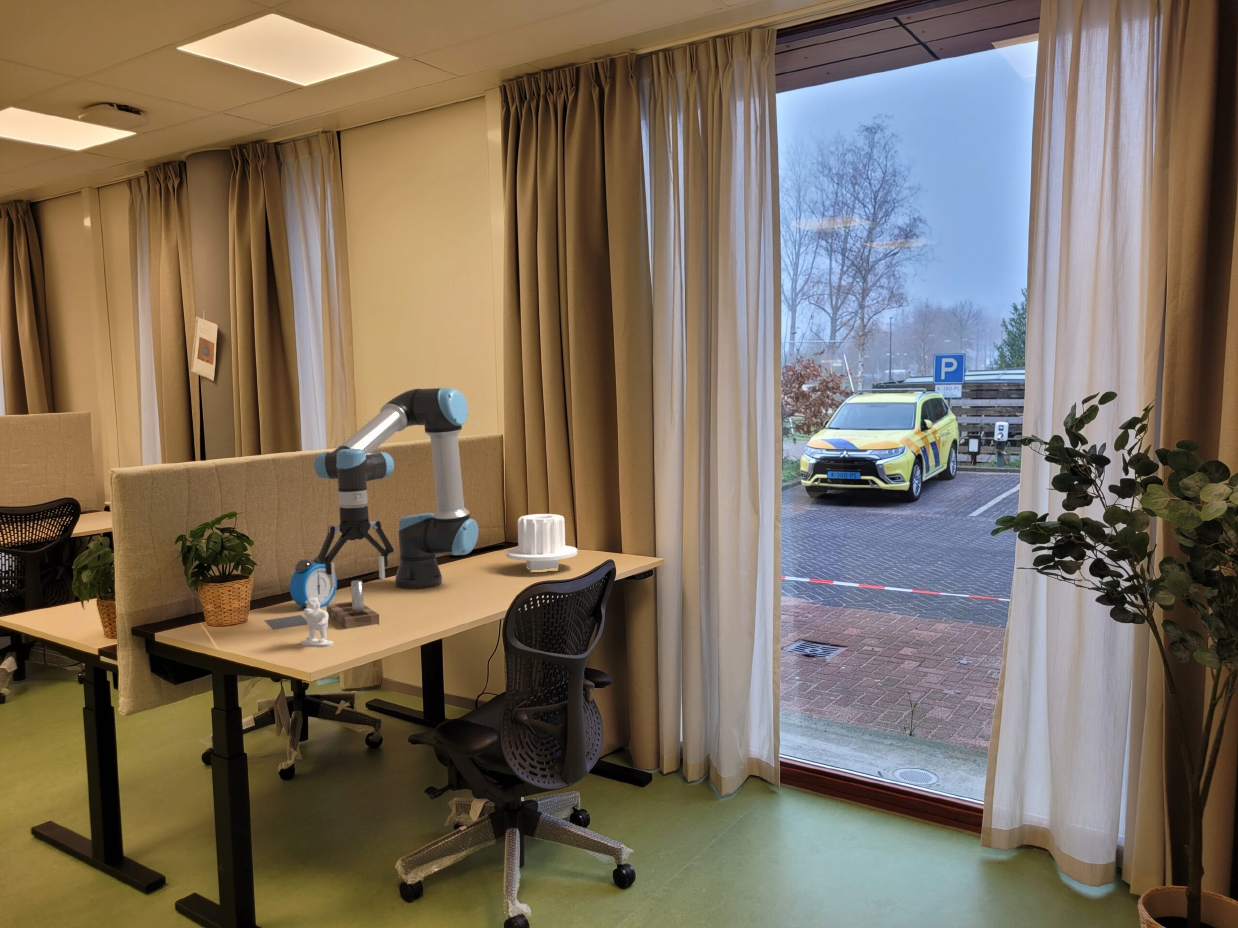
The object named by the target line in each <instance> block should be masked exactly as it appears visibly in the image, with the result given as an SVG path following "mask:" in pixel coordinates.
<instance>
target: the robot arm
mask: <svg viewBox="0 0 1238 928" xmlns="http://www.w3.org/2000/svg"><path fill="white" fill-rule="evenodd" d="M468 414H469V408H468V403H467V400H466V398H465V396H464V394H462V392H461V391H459V390H457V389H456V388H450V387H449V388H448V387H447V388H446V387H438V388H434V387H433V388H413V389H410V390H406V391H405V392H402V393H400V394H399V395H397V396H395V397H393V398H392V399H390V400H389V401H388V402H386V403H385V404H384V405H383V406H382V407H381V408H380V410H379V413H378V414H377V415H376V416H374V417H373V418H371V420H369V421H368V422H367V423H366V424H365V425H364V426H362V427H361V428H360V429H358V430H357V431H356V432H355V433H354V434H352V436H350V437H349V438H348V439H346V440H345V441H344V442H343V443H342V444H341V445H339V446H338V447H337V448H336V449H334V450H333V451H331V452H329V451H326V452H321V453H318V455H317V456H316V458H315V460H314V463H313V467H314V470H315V474H316V475H317V476H318V477H319V478H321V479H329V480H337V485H338V488H337V489H338V490H337V491H338V493H337V494H338V505H339V506H340V507H339V509H338V510H339V511H338V512H339V525H335V526H334V525H329V526H328V527H327V534H326V537H325V540H324V542H323V544H322V546H321V549H320V551H319V552H318V553H319V554H318V560H319V561H321V562H325V570H326V574H327V575H330V585H331V586H332V587H336V585H335V574H336V571H335V570H336V569H335V562H333V560H334V559H335V558H336V556H337V554H338V553H339V552H340V550H341V549H342V547H344V544H346V543H347V541H351V542H352V541H356V540H359V541H361V540H363V539H366V540H367V541H368V542H369V543H370V544H371V546H372V547H374V549H376V550H377V551H378V552H379V553H380V554H378V555H377V556H378V557H377V559H378V572H379V573H378V577H379V578H378V579H380V580H382V581H384V580H386V572H385V569H386V567H388V566H389V565H388V564H389V563H388V556H389V554H392V553H394V551H395V549H394V547H393V546H392V544H391V542H390V541H389V538H388V537H387V535H386V534H385V533H384V530H383V528H382V524H381V521H379V520H377V519H375V520H373V521H370V519H369V517H370V516H369V507H368V505H367V504H368V503H369V502H368V486H367V482H370V481H377V480H382V479H385V478H387V477H388V478H389V476H391V475H392V473H393V471H394V469H395V462H394V459H393V457H392V455H390V454H389V453H388V452H385V451H376V449H378V448H379V447H380V446H381V445H382V444H384V443H385V442H386V441H387V440H389V438H391V437H392V436H393V435H394V434H395V433H396V432H401V431H404V430H405V429H406V428H408V427H412V426H424V433H425V434H426V435H427V436H428V437H429V438H430V446H431V456H432V457H431V458H432V467H433V468H432V469H433V477H434V478H433V479H434V487H435V488H434V489H435V499H436V509H437V510H436V511H435V512H434V513H433V512H425V513H418V514H412V515H407V516H403V517H401V518H400V519H399V521H398V530H397V532H398V543H399V544H398V547H399V564H398V567H397V571H396V575H395V579H394V580H395V581H394V582H395V586H396V587H398V588H402V589H423V588H430V587H436V586H439V585H441V584H442V583H443V575H442V573H441V570H440V567H439V564H438V562H437V555H441V554H442V555H453V556H465V555H468V554H469V553H471V552H472V551H473V549H474V548H475V546H476V544H477V542H478V537H479V524H478V523H477V521H476V520H475V519H473V518H471V515H470V511H469V510H468V509H467V508H466V507H465V503H464V502H465V501H464V489H463V478H462V467H461V458H460V448H459V447H460V445H459V436H458V435H459V434H460V433H461V431H462V430H463V427H462V425H464V424H465V423H466V421H467V420H468ZM374 451H375V452H374ZM371 528H372V529H373V530H375V532H376V534H377V536H378V537H379V539H380V541H381V542H382V545H383V546H384V547H383V546H382V545H380V544H379V542H377V540H376V539H375V538H373V537H372V535H371V534H370V533H369V530H370V529H371ZM338 531H339V532H340V533H341V535H340V536H339V537H338V539H337V541H336V542H335V544H334V545H333V547H331V545H332V543H333V540H334V539H335V535H337V533H338ZM330 548H331V549H330Z"/></svg>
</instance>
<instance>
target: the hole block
mask: <svg viewBox="0 0 1238 928" xmlns="http://www.w3.org/2000/svg"><path fill="white" fill-rule="evenodd" d="M363 606H364V615H360V616H354V617H353V615H352V600H350V601H345V602H339V603H329V605H326V606H325V607H326V612H327V613H328V615H329V617H330V618H331V619H333V620H334V621H335V622H337V623H338V624H339V625H341V626H342V627H343V628H345V630H349V629H355V628H361V627H366V626H373V625H374V626H375V625H378V626H380V614H379V613H378V612H376V611H374V610H373V609H372V608H370V607H369V606H367V605H365V604H364V603H363Z"/></svg>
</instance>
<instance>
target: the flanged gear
mask: <svg viewBox="0 0 1238 928" xmlns="http://www.w3.org/2000/svg"><path fill="white" fill-rule="evenodd" d="M565 525H566V524H565V517H564V516H563V515H560V514H554V513H553V514H552V513H536V514H535V513H534V514H527V515H521V516H520V517H519V518H518V519H517V543H518V545H517V547H513V548H509V549H507V550H506V554H505V555H506V557H507V558H508V559H511V560H517V561H526V562H525V563H526V568H527V567H528V568H529V570H530V571H532V570H543V569H550V568H558V569H559V560H565V559H568V558H569V559H570V558H572V557H575V556H577V555H578V548H577V547H575V546H570V545H566V530H565V528H566V527H565ZM529 570H528V571H529Z"/></svg>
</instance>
